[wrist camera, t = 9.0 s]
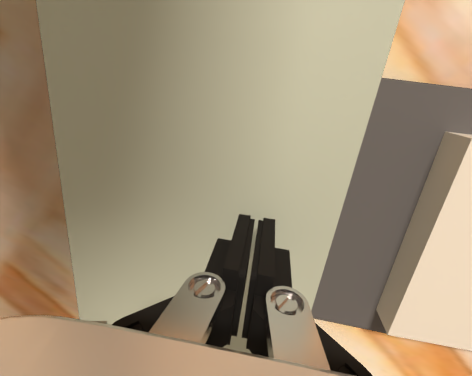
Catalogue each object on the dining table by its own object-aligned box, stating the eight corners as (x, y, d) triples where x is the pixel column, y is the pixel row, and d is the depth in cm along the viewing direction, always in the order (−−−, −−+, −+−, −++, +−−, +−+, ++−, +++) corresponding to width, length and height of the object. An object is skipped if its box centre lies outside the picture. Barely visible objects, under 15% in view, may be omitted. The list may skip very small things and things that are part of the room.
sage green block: (95, -21, 14) (27, -62, 10) (372, 6, 12) (413, -29, 9) (116, 301, 22) (83, 345, 18) (284, 338, 21) (286, 393, 17)
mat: (364, 76, 13) (367, 75, 13) (652, 111, 12) (664, 112, 12) (299, 310, 19) (299, 315, 19) (488, 350, 18) (492, 355, 18)
